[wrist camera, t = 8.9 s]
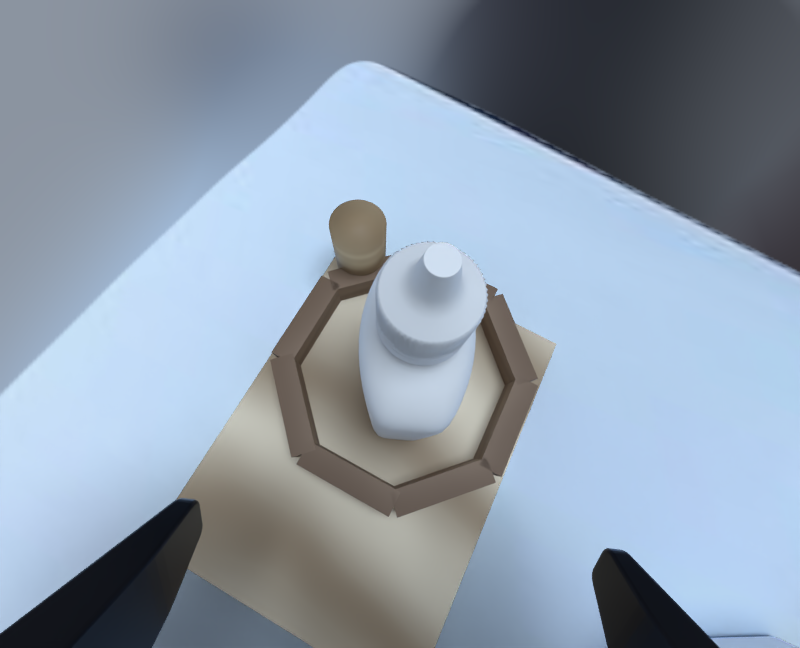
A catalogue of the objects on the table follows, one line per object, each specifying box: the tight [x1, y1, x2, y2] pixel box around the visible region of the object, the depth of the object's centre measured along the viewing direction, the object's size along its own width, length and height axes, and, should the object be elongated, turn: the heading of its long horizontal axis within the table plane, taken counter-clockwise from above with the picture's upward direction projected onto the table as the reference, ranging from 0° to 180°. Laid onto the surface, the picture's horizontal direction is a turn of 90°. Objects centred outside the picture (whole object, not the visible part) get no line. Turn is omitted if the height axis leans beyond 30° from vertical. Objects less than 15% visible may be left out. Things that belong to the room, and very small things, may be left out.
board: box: [176, 200, 556, 648], centre depth 16 cm, size 16×12×5 cm
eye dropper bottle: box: [359, 242, 488, 441], centre depth 13 cm, size 4×6×12 cm
